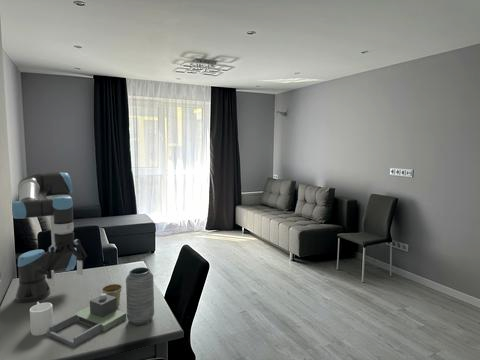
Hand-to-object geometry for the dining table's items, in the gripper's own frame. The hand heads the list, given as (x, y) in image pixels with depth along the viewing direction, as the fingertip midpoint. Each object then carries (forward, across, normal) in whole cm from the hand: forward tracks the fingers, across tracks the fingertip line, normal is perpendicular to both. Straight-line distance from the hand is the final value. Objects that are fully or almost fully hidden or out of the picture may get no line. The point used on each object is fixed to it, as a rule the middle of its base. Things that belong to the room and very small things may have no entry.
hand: (66, 279), depth 142 cm
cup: (+20, -8, +6) cm, 22 cm away
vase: (+20, +15, -28) cm, 37 cm away
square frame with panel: (+19, +1, -10) cm, 22 cm away
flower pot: (+20, +20, -5) cm, 29 cm away
